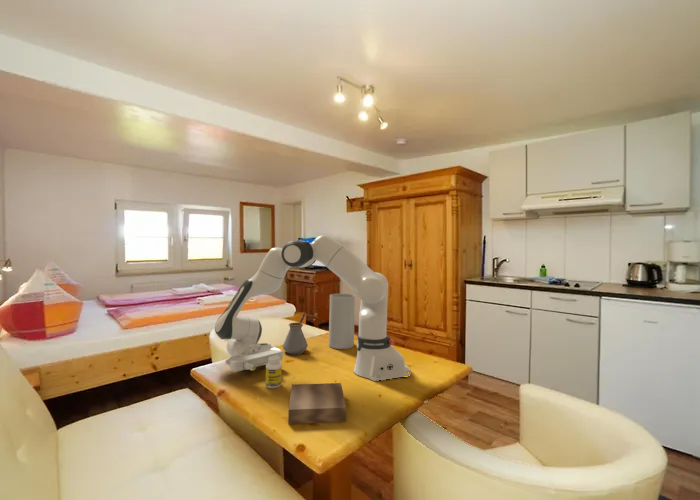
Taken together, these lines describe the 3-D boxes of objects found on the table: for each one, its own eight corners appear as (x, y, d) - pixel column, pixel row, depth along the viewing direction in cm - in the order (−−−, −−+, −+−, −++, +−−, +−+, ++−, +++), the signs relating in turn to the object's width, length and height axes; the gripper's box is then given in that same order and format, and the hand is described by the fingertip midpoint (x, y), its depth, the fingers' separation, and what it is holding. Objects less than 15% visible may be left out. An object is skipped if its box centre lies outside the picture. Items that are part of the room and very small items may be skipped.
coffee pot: (303, 356, 140) (304, 323, 140) (278, 354, 142) (279, 321, 142) (315, 342, 162) (316, 313, 161) (293, 341, 163) (294, 312, 163)
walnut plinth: (340, 395, 105) (341, 383, 105) (345, 421, 89) (346, 407, 89) (291, 396, 103) (292, 384, 103) (288, 424, 87) (288, 409, 87)
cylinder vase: (357, 343, 161) (358, 294, 161) (348, 351, 149) (349, 298, 149) (334, 340, 165) (335, 293, 165) (324, 347, 154) (325, 296, 153)
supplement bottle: (266, 389, 108) (267, 361, 108) (264, 383, 113) (264, 355, 113) (282, 387, 110) (283, 359, 110) (279, 381, 115) (280, 354, 115)
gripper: (223, 352, 119) (238, 363, 109) (272, 342, 133) (290, 350, 122) (223, 369, 119) (238, 381, 109) (272, 357, 133) (289, 367, 123)
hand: (266, 365), depth 116 cm, fingers open, 8 cm apart
